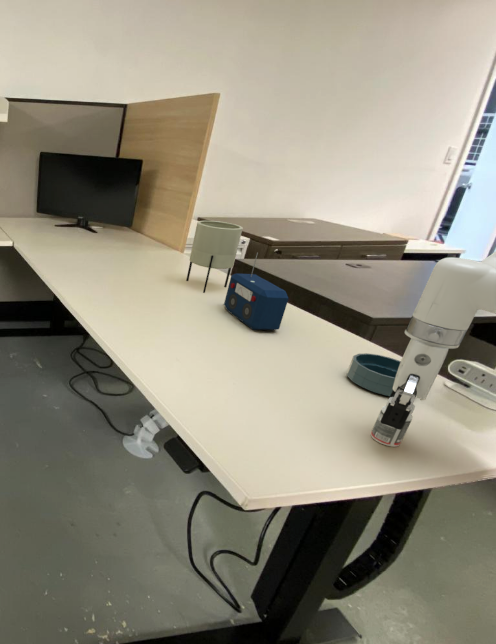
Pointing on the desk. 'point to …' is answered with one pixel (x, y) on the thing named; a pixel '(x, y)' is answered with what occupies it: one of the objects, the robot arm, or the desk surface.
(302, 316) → the desk surface
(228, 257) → the planter
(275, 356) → the desk surface
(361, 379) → the bowl
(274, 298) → the radio
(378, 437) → the pill bottle
